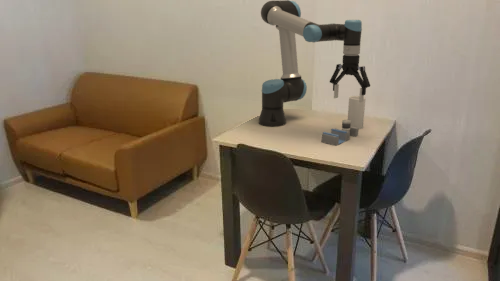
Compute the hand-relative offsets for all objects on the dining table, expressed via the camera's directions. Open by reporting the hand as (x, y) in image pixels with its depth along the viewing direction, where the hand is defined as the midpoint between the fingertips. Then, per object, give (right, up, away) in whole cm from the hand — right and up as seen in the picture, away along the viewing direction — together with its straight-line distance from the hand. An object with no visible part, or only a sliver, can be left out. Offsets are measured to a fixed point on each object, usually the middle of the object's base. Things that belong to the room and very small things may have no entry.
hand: (348, 99), depth 191 cm
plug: (0, -17, +6) cm, 18 cm away
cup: (+9, -12, +21) cm, 26 cm away
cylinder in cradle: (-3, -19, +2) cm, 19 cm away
